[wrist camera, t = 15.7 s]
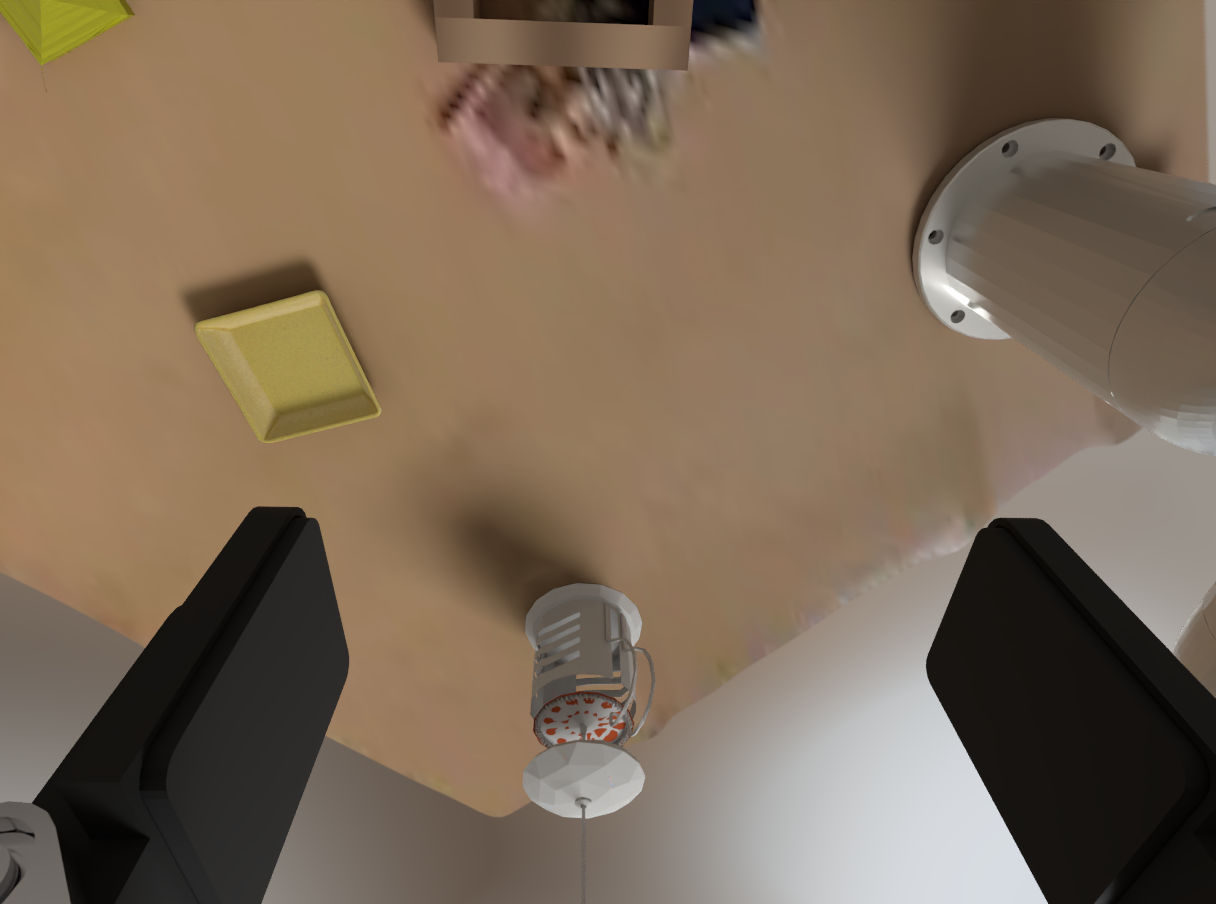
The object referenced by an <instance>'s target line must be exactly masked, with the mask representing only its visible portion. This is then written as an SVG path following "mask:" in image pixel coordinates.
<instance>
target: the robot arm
mask: <svg viewBox="0 0 1216 904" xmlns="http://www.w3.org/2000/svg"><path fill="white" fill-rule="evenodd" d="M1004 144H1005V148H1004V150H1002V148H1003V146H1004ZM932 231H933V234H932V236H930V237H929V235H930V233H931V232H932ZM912 261H913V274H914V280H915V283H916V286H917V290H918V293H919V295H920V297H921V298H922V300H923V302H924V304H925V305H926V307H927V308H928V309H929V310H930V311H931V313H932V314H933V315H934V316H935V317H936V318H937V319H938V320H940V321H941V322H942V323H944V324H945V325H946V326H947V327H949V328H950V329H952V330H955V331H957V332H959V333H961V334H963V335H965V336H969V337H974V338H979V339H984V340H1003V339H1010V338H1014V339H1015V340H1017V341H1018V342H1020V343H1021V344H1022V345H1024V346H1025V347H1027V348H1028V349H1030V350H1031V351H1033V352H1034V353H1036V354H1037V355H1038V356H1040V357H1041V358H1043V359H1044V360H1046V361H1047V362H1049V363H1050V364H1052V365H1053V366H1054V367H1056V368H1057V369H1059V370H1060V371H1062V372H1063V373H1065V374H1066V375H1068V376H1069V377H1070V378H1072V379H1073V380H1075V381H1076V382H1078V383H1079V384H1081V385H1082V386H1084V387H1085V388H1086V389H1088V390H1089V391H1091V392H1092V393H1094V394H1095V395H1097V396H1098V397H1100V398H1101V399H1102V400H1104V401H1105V402H1107V403H1108V404H1110V405H1111V406H1113V407H1114V408H1116V409H1117V410H1119V411H1120V412H1122V413H1123V414H1124V415H1126V416H1127V417H1129V418H1130V419H1132V420H1133V421H1135V422H1137V423H1138V424H1140V425H1141V426H1143V427H1144V428H1146V429H1147V430H1149V431H1150V432H1152V433H1153V434H1155V435H1157V436H1159V437H1161V438H1162V439H1164V440H1166V441H1168V442H1170V443H1172V444H1175V445H1177V446H1180V447H1182V448H1185V449H1188V450H1191V451H1195V452H1199V453H1204V454H1208V455H1214V456H1216V185H1214V184H1210V183H1205V182H1201V181H1197V180H1192V179H1188V178H1183V177H1179V176H1174V175H1170V174H1165V173H1161V172H1156V171H1152V170H1147V169H1143V168H1138V167H1136V164H1135V161H1134V159H1133V156H1132V155H1131V153H1130V152H1129V151H1128V149H1127V148H1126V146H1125V145H1124V144H1123V142H1122V141H1121V140H1120V139H1118V138H1117V137H1116V136H1114V135H1113V134H1112V133H1111V132H1109V131H1108V130H1107V129H1104V128H1102V127H1099V126H1097V125H1095V124H1092V123H1090V122H1085V121H1080V120H1074V119H1063V118H1046V119H1041V120H1035V121H1029V122H1025V123H1022V124H1020V125H1017V126H1014V127H1012V128H1009V129H1006V130H1004V131H1002V132H1000V133H998V134H997V135H995V136H993V137H991V138H990V139H988V140H986V141H984V142H983V143H981V144H980V145H979V146H977V147H976V148H975V149H974V150H972V151H971V152H970V153H969V154H967V155H966V156H965V157H964V158H962V159H961V160H960V162H959V163H958V164H957V165H956V166H955V167H954V168H953V169H952V170H951V171H950V172H949V173H948V174H947V175H946V176H945V178H944V179H943V181H942V182H941V184H940V185H939V186H938V188H937V189H936V191H935V192H934V194H933V195H932V196H931V198H930V200H929V202H928V204H927V207H926V209H925V211H924V213H923V215H922V217H921V220H920V223H919V226H918V229H917V233H916V236H915V240H914V249H913V257H912ZM953 312H954V313H953ZM952 313H953V314H952ZM348 669H349V653H348V648H347V644H346V639H345V635H344V631H343V626H342V622H341V618H340V613H339V609H338V605H337V600H336V596H335V592H334V587H333V583H332V579H331V574H330V570H329V566H328V561H327V557H326V552H325V548H324V544H323V539H322V535H321V531H320V527H319V524H318V521H317V520H316V519H315V518H307V517H306V515H305V512H304V511H303V510H302V509H301V508H299V507H255V508H253V509H252V510H251V511H250V512H249V513H248V515H247V516H246V517H245V519H244V520H243V522H242V523H241V524H240V526H239V527H238V529H237V530H236V531H235V533H234V534H233V535H232V537H231V538H230V540H229V541H228V542H227V544H226V545H225V547H224V548H223V549H222V551H221V552H220V553H219V555H218V556H217V558H216V559H215V560H214V562H213V563H212V565H211V566H210V567H209V569H208V570H207V571H206V573H205V574H204V576H203V577H202V578H201V580H200V581H199V583H198V584H197V585H196V587H195V588H194V589H193V591H192V592H191V594H190V595H189V596H188V598H187V599H186V601H185V602H184V603H183V605H181V606H179V607H177V608H176V609H175V610H174V611H173V612H172V613H171V614H170V615H169V617H168V618H167V619H166V621H165V622H164V623H163V625H162V626H161V627H160V629H159V630H158V631H157V633H156V634H155V636H154V637H153V638H152V640H151V641H150V642H149V644H148V645H147V646H146V648H145V649H144V651H143V652H142V653H141V655H140V656H139V657H138V659H137V660H136V662H135V663H134V664H133V666H132V667H131V668H130V670H129V671H128V672H127V674H126V675H125V677H124V678H123V679H122V681H121V682H120V683H119V685H118V686H117V688H116V689H115V690H114V692H113V693H112V694H111V696H110V697H109V698H108V700H107V701H106V703H105V704H104V705H103V707H102V708H101V709H100V711H99V712H98V714H97V715H96V716H95V718H94V719H93V720H92V722H91V723H90V724H89V726H88V727H87V729H86V730H85V731H84V733H83V734H82V735H81V737H80V738H79V740H78V741H77V742H76V743H75V745H74V746H73V748H72V749H71V750H70V752H69V753H68V754H67V756H66V757H65V759H64V760H63V761H62V763H61V764H60V765H59V767H58V768H57V769H56V771H55V772H54V774H53V775H52V776H51V778H50V779H49V780H48V782H47V783H46V784H45V786H44V787H43V789H42V790H41V791H40V793H39V794H38V795H37V797H36V798H35V800H34V801H33V802H32V803H22V802H4V803H0V904H261V903H262V900H263V897H264V895H265V892H266V889H267V887H268V884H269V881H270V879H271V876H272V874H273V871H274V868H275V866H276V863H277V860H278V858H279V855H280V852H281V850H282V847H283V844H284V842H285V839H286V836H287V834H288V832H289V829H290V826H291V824H292V821H293V818H294V815H295V813H296V810H297V808H298V805H299V802H300V800H301V797H302V794H303V792H304V789H305V787H306V784H307V781H308V779H309V776H310V774H311V771H312V768H313V766H314V763H315V760H316V758H317V755H318V752H319V750H320V747H321V745H322V742H323V739H324V737H325V734H326V731H327V729H328V726H329V724H330V721H331V718H332V716H333V713H334V710H335V708H336V705H337V702H338V700H339V697H340V695H341V692H342V689H343V687H344V684H345V681H346V678H347V674H348ZM926 670H927V676H928V679H929V681H930V684H931V686H932V688H933V690H934V691H935V693H936V695H937V697H938V699H939V701H940V702H941V705H942V706H943V708H944V710H945V712H946V714H947V716H948V718H949V719H950V721H951V723H952V725H953V727H954V729H955V731H956V732H957V734H958V736H959V738H960V740H961V742H962V744H963V746H964V747H965V749H966V751H967V753H968V755H969V757H970V759H971V761H972V762H973V764H974V766H975V768H976V770H977V771H978V774H979V775H980V777H981V779H982V781H983V783H984V785H985V787H986V788H987V790H988V792H989V794H990V796H991V798H992V800H993V802H994V803H995V805H996V807H997V809H998V811H999V813H1000V814H1001V816H1002V818H1003V820H1004V822H1005V824H1006V826H1007V828H1008V829H1009V831H1010V833H1011V835H1012V837H1013V839H1014V841H1015V842H1016V844H1017V846H1018V848H1019V850H1020V852H1021V854H1022V856H1023V857H1024V859H1025V861H1026V863H1027V865H1028V867H1029V868H1030V871H1031V872H1032V874H1033V876H1034V878H1035V880H1036V882H1037V883H1038V885H1039V887H1040V889H1041V891H1042V893H1043V895H1044V897H1045V899H1046V900H1047V902H1048V904H1216V582H1215V584H1214V585H1213V586H1212V587H1211V589H1210V590H1209V591H1208V593H1207V594H1206V595H1205V597H1204V598H1203V599H1202V601H1201V602H1200V603H1199V605H1198V606H1197V607H1196V609H1195V610H1194V611H1193V613H1192V614H1191V616H1190V617H1189V619H1188V620H1187V622H1186V623H1185V625H1184V626H1183V628H1182V630H1181V631H1180V634H1179V636H1178V638H1177V640H1176V642H1175V645H1174V647H1173V651H1172V652H1171V651H1170V650H1169V649H1168V648H1166V646H1165V645H1164V644H1163V643H1162V642H1161V641H1160V640H1159V639H1158V638H1157V637H1156V636H1155V635H1154V634H1153V633H1152V632H1151V631H1150V629H1148V627H1146V625H1145V624H1144V623H1143V622H1142V621H1141V620H1140V619H1139V618H1138V617H1137V616H1136V615H1135V614H1134V613H1133V612H1132V611H1131V610H1130V609H1129V608H1128V607H1127V606H1126V605H1125V603H1124V602H1123V601H1122V600H1121V599H1119V597H1118V596H1117V595H1116V594H1115V593H1114V592H1113V591H1112V590H1111V589H1110V588H1109V587H1108V586H1107V585H1106V584H1105V583H1104V582H1103V581H1102V580H1101V578H1100V577H1099V576H1097V574H1096V573H1095V572H1094V571H1093V570H1092V569H1091V568H1090V567H1089V566H1088V565H1087V564H1086V563H1085V562H1084V561H1083V560H1082V559H1081V558H1080V557H1079V556H1078V555H1077V553H1076V552H1074V550H1073V549H1072V548H1071V547H1070V546H1068V544H1067V543H1066V542H1065V541H1064V540H1063V539H1062V538H1061V537H1060V536H1059V535H1058V534H1057V533H1056V532H1055V531H1054V530H1053V529H1052V527H1051V526H1050V525H1049V524H1047V523H1046V522H1045V521H1043V520H1041V519H1037V518H997V519H994V520H993V521H992V522H991V523H990V524H989V525H988V527H987V528H983V529H981V530H980V531H979V532H978V534H977V535H976V537H975V540H974V543H973V545H972V547H971V550H970V552H969V555H968V557H967V560H966V562H965V565H964V567H963V570H962V572H961V574H960V577H959V580H958V582H957V584H956V587H955V589H954V592H953V594H952V597H951V599H950V602H949V604H948V607H947V609H946V611H945V614H944V616H943V619H942V622H941V624H940V627H939V629H938V631H937V634H936V636H935V639H934V641H933V644H932V646H931V649H930V651H929V653H928V656H927V660H926Z"/></svg>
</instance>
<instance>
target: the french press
mask: <svg viewBox="0 0 1216 904" xmlns="http://www.w3.org/2000/svg"><path fill="white" fill-rule="evenodd" d="M641 626H642V620H641V618H640V615H639V612H638V609H637V606H636V605H635V604H634V603H632V602H631V601H630V600H629V599H628V598H627V597H626V596H625V595H624V594H623V593H621V592H619V591H616V590H614V589H611V588H609V587H606V586H604V585H600V584H585V583H575V584H571V585H567V586H563V587H558V588H554V589H553V590H551V591H550V592H548V593H547V594H545V595H543V596H542V597H540V598H539V599H537V600H536V601H535V603H534V604H533V606H532V607H531V609H530V610H529V612H528V613H527V615H526V625H525V633H526V635H527V637H528V639H529V641H530V643H531V645H532V647H533V648H534V649H535V659H536V660H537V662H538V663H537V664H536V663H535V660H534V672H536V674H537V677H536V678H535V676H534V672H533V684H532V699H531V713H530V714H531V716H532V717H533V719H534V728H533V732H534V733H535V735H536V737H537V739H538V741H539V742H540V743H541V744H542V745H543V746H545V747H546V748H548V749H546V750H544V751H543V752H541V753H539V754H538V755H536V756H535V757H534V758H533V759H532V761H531V762H530V763H529V764H528V766H527V767H526V768H525V769H524V771H523V788H524V789H525V791H526V793H527V795H528V796H529V798H530V800H532V801H533V802H535V803H536V804H538V805H540V806H541V807H543V808H544V809H546V810H548V811H550V812H553V813H555V814H557V815H560V816H563V817H576V818H582V904H585V818H592V817H596V816H600V815H604V814H608V813H611V812H615V811H616V810H618V809H620V808H621V807H623V806H625V805H626V804H628V803H630V802H631V801H632V800H633V799H634V798H635V797H636V796H637V795H638V794H639V793H640V792H641V790H642V787H643V783H644V779H645V774H644V772H643V770H642V767H641V765H640V763H639V761H638V760H637V758H636V757H635V756H633V755H632V754H631V753H629V752H628V751H627V750H626V749H625V748H623V747H622V746H623V744H624V743H625V742H626V741H627V740H628V739H629V738H630V737H632V736H635V735H636V734H637V732H638V731H639V729H640V728H641V726H642V725H643V723H644V722H645V720H646V717H647V715H648V712H649V709H650V707H651V702H652V698H653V693H654V688H655V673H654V665H653V661H652V659H651V656H650V655H649V653H648V652H647V651H646V650H645V649H643V648H639V647H634V648H633V646H634V644H635V643H636V642H637V641H638V639H639V636H640V631H641ZM536 650H537V651H536ZM635 651H640V652H644V654H645V656H646V657H647V659H648V661H649V665H650V671H651V677H652V684H651V692H650V696H649V700H648V704H647V708H646V710H645V712H644V715H643V717H642V720H641V721H640V723H639V724H638V726H637V727H636V729H635V730H634V732H633V733H632V730H633V725H634V722H633V717H634V715H635V713H636V696H635V684H636V677H637V658H636V652H635ZM539 655H540V659H539ZM632 655H633V656H632ZM538 669H539V671H538ZM619 671H621V677H613V672H619ZM576 674H589V675H601V676H604V677H607V678H604V677H602V678H584V679H576ZM603 684H622V685H623V686H624V687H623V688H622V689H621V690H587V691H578V692H576V686H582V685H603ZM628 691H630V692H629V694H628V697H627V699H626V700H625V701H624V702H622V703H620V702H619V701H617V700H616V699H615V698H613V697H622V696H623V695H624V694H626V693H627V692H628ZM537 692H538V693H537ZM536 693H537V698H536ZM632 697H633V698H634V701H633V704H632V707H631V710H630V712H629V710H628V709H627V708H628V706H629V705H630V703H631V700H632Z"/></svg>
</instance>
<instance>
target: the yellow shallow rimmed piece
mask: <svg viewBox="0 0 1216 904" xmlns="http://www.w3.org/2000/svg"><path fill="white" fill-rule="evenodd" d="M194 330H195V333H196V336H197V338H198V339H199V341H200V343H201V344H202V346H203V348H204V350H205V351H206V353H207V354H208V356H209V357H210V359H211V361H212V362H213V364H214V366H215V367H216V369H217V371H218V373H219V374H220V376H221V377H222V379H223V381H224V382H225V384H226V386H227V388H228V389H229V390H230V392H231V394H232V396H233V398H234V399H235V401H236V402H237V404H238V406H239V408H240V409H241V411H242V413H243V414H244V416H245V418H246V419H247V421H248V423H249V424H250V426H251V428H252V429H253V431H254V433H255V435H256V437H257V438H258V440H259V441H261V442H264V443H273V442H277V441H281V440H286V439H289V438H293V437H298V436H301V435H305V434H310V433H313V432H318V431H322V430H325V429H330V428H334V427H338V426H342V425H346V424H351V423H355V422H359V421H363V420H367V419H371V418H375V417H378V416H379V415H380V414H381V407H380V405H379V403H378V401H377V399H376V397H375V394H374V392H373V390H372V388H371V386H370V384H369V382H368V380H367V378H366V376H365V374H364V372H363V370H362V368H361V365H360V363H359V361H358V359H357V357H356V355H355V353H354V351H353V349H352V347H351V345H350V343H349V341H348V339H347V336H346V334H345V332H344V330H343V328H342V326H341V324H340V322H339V320H338V318H337V316H336V313H335V311H334V309H333V307H332V305H331V303H330V301H329V298H328V296H327V295H326V293H325V292H323V291H321V290H315V291H311V292H307V293H304V294H300V295H297V296H293V297H289V298H286V299H282V300H278V301H275V302H271V303H267V304H263V305H260V306H256V307H253V308H248V309H245V310H241V311H237V312H234V313H230V314H226V315H222V316H219V317H215V318H211V319H207V320H202V321H200V322H197V323H196V324H195V326H194Z"/></svg>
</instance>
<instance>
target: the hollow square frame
mask: <svg viewBox="0 0 1216 904" xmlns="http://www.w3.org/2000/svg"><path fill="white" fill-rule="evenodd" d="M433 5H434V16H435V28H436V39H437V51H438V62H457V63H486V64H515V65H543V66H572V67H601V68H629V69H658V70H687V71H688V58H689V46H690V33H691V21H692V8H693V0H649V15H648V25H630V24H603V23H577V22H550V21H524V20H497V19H482V14H481V0H433Z"/></svg>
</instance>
